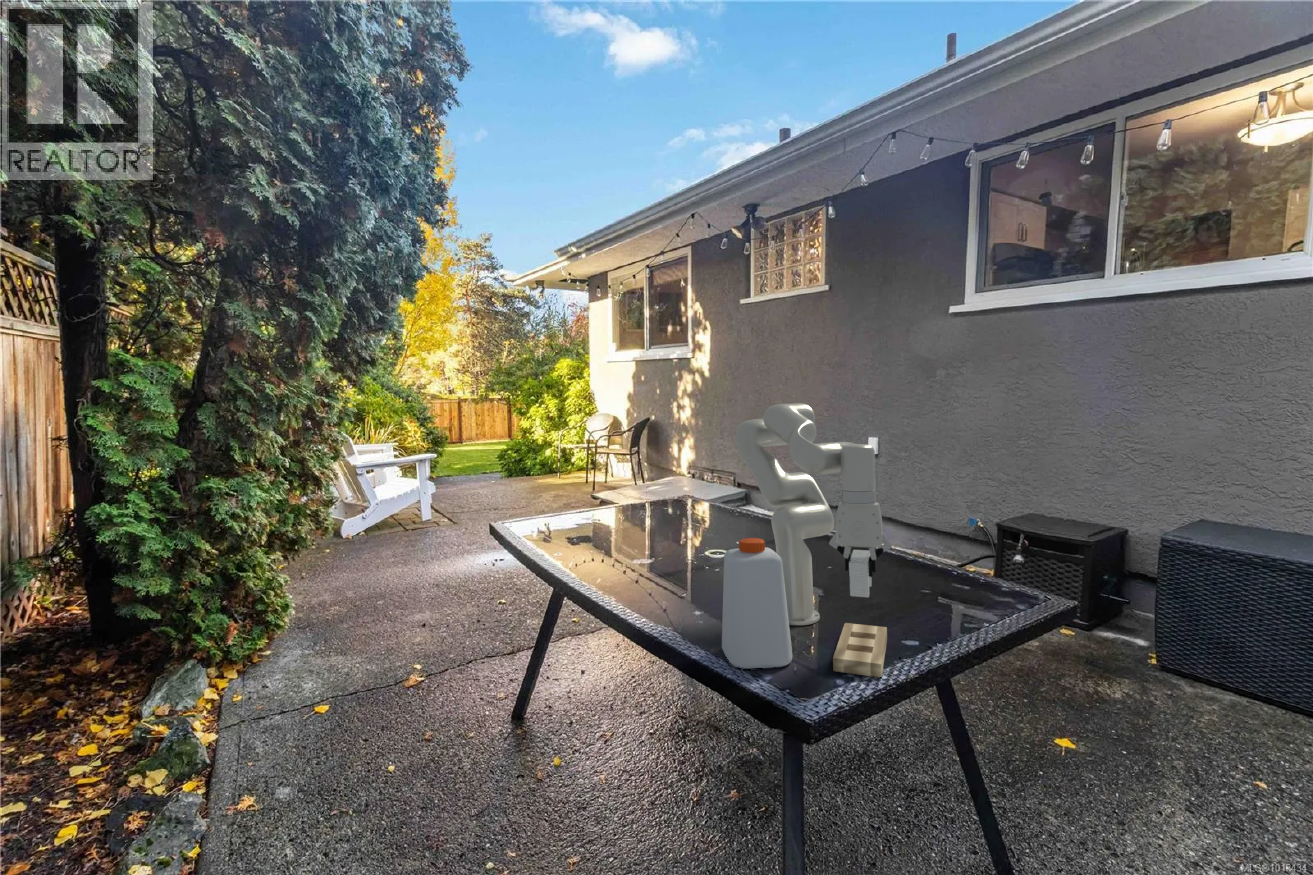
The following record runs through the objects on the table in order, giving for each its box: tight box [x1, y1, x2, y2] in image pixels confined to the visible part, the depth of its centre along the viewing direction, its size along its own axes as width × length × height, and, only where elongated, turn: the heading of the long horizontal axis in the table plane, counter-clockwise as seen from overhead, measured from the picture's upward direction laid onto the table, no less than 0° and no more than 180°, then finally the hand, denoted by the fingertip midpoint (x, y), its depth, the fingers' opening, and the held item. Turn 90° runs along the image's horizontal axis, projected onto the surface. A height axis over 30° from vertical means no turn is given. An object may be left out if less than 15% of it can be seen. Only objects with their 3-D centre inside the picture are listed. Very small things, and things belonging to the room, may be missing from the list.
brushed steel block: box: [848, 549, 872, 598], centre depth 136 cm, size 4×12×8 cm, turn 156°
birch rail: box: [832, 622, 888, 678], centre depth 136 cm, size 10×22×3 cm, turn 155°
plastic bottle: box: [721, 537, 793, 669], centre depth 137 cm, size 15×15×28 cm
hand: (860, 573), depth 136 cm, fingers closed on brushed steel block, 4 cm apart
